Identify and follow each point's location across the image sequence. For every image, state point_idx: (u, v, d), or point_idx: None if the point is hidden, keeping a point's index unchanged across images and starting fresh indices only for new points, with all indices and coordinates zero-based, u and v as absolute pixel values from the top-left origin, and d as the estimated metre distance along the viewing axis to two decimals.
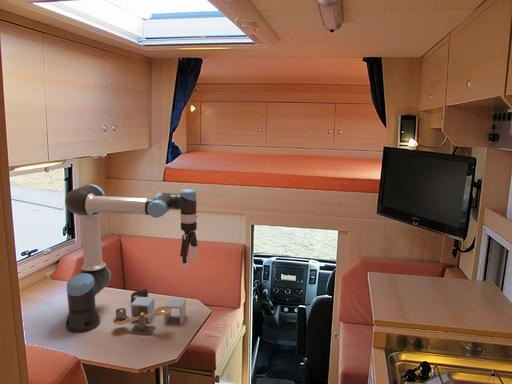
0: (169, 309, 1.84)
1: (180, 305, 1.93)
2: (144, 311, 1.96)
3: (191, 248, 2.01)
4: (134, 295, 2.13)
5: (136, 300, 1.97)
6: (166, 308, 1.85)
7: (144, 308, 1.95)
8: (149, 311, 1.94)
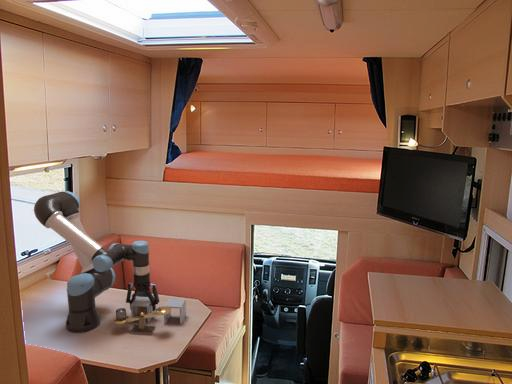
0: (169, 309, 1.84)
1: (180, 305, 1.93)
2: (144, 311, 1.96)
3: None
4: None
5: (136, 300, 1.97)
6: (166, 308, 1.85)
7: (144, 308, 1.95)
8: (149, 311, 1.94)
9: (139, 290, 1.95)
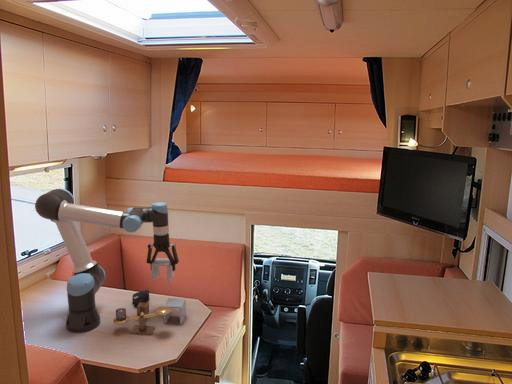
0: (169, 309, 1.84)
1: (180, 305, 1.93)
2: (144, 311, 1.96)
3: None
4: (135, 296, 2.12)
5: (156, 260, 2.03)
6: (166, 308, 1.85)
7: (144, 308, 1.95)
8: (169, 270, 2.00)
9: (159, 250, 2.00)
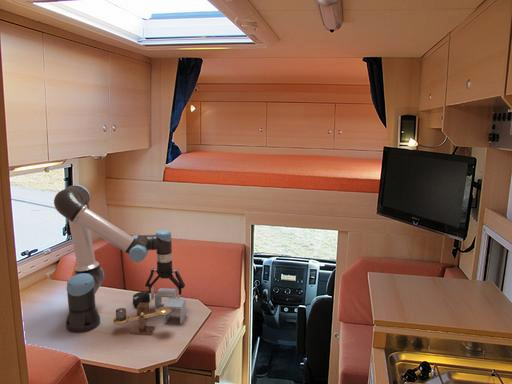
0: (169, 309, 1.84)
1: (180, 305, 1.93)
2: (144, 311, 1.96)
3: None
4: (135, 296, 2.12)
5: (159, 291, 2.08)
6: (166, 308, 1.85)
7: (144, 308, 1.95)
8: None
9: (162, 277, 2.05)
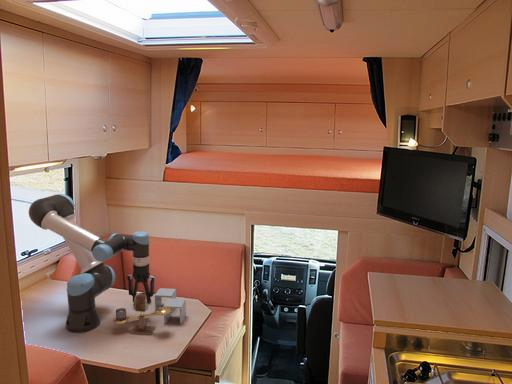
0: (169, 309, 1.84)
1: (180, 305, 1.93)
2: (142, 302, 1.95)
3: None
4: None
5: (159, 291, 2.08)
6: (166, 308, 1.85)
7: (143, 299, 1.94)
8: None
9: (138, 281, 1.94)
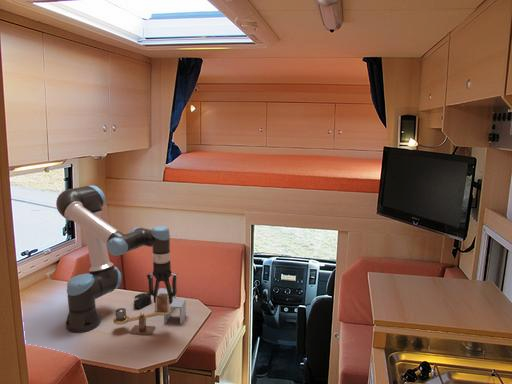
0: None
1: (180, 305, 1.93)
2: (164, 302, 1.81)
3: None
4: (136, 297, 2.11)
5: (159, 291, 2.08)
6: None
7: (164, 299, 1.80)
8: None
9: (159, 280, 1.80)
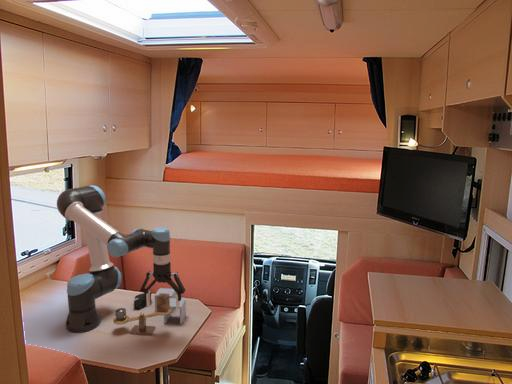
0: (169, 309, 1.84)
1: (180, 305, 1.93)
2: (165, 302, 1.81)
3: None
4: (136, 297, 2.11)
5: (159, 291, 2.08)
6: None
7: (165, 299, 1.80)
8: None
9: (159, 281, 1.80)
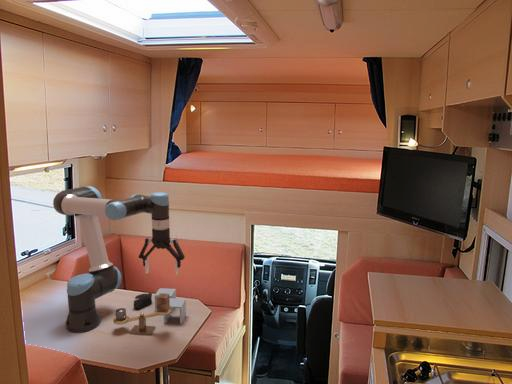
0: (169, 309, 1.84)
1: (180, 305, 1.93)
2: (165, 302, 1.81)
3: None
4: (136, 298, 2.10)
5: (159, 291, 2.08)
6: None
7: (165, 299, 1.80)
8: None
9: (158, 247, 1.77)
